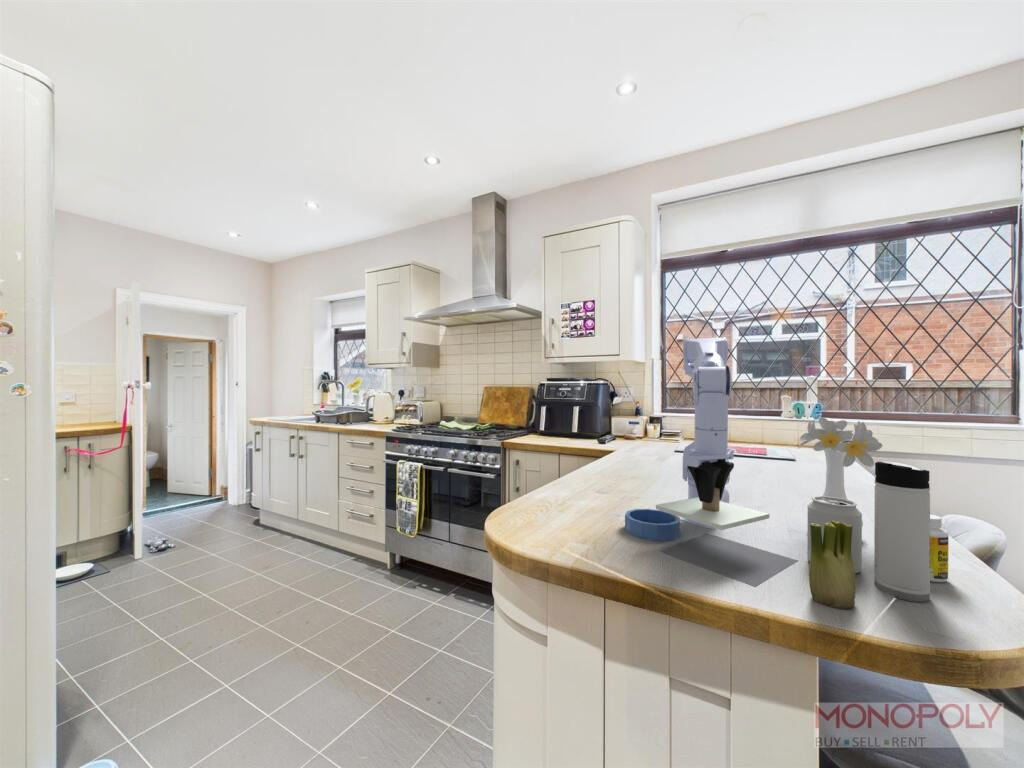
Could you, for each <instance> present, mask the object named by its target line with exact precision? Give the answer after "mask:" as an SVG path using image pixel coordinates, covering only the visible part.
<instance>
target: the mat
mask: <svg viewBox="0 0 1024 768" xmlns="http://www.w3.org/2000/svg"><path fill="white" fill-rule="evenodd" d="M659 553H663V554H665V555H668V556H670V557H673V558H676V559H679V560H681V561H684V562H687V563H690V564H692V565H695V566H697V567H699V568H703V569H705V570H708V571H711V572H714V573H717V574H719V575H722V576H724V577H727V578H730V579H731V580H735V581H739V582H741V583H743V584H745V585H746V584H747V585H748V586H751V587H754V588H756V587H758V586H759V585H761V584H763V583H765V582H766V581H767V580H769V579H771V578H772V577H775V576H777V574H779V573H781V572H782V571H784V570H786V569H787V568H789V567H790V566H792V565H795V564H796V563H798V562H799V559H798V560H797V559H795V558H791V557H788V556H784V555H781V554H778V553H774V552H772V551H768V550H764V549H761V548H758V547H754V546H751V545H748V544H744V543H742V542H741V543H740V542H737V541H734V540H731V539H727V538H724V537H721V536H717V535H715V534H710V533H704V534H701V535H698V536H695V537H694V538H691V539H687V540H686V541H683V542H680V543H677V544H675V545H672V546H669V547H667V548H665V549H664V548H663V549H661V550H659Z"/></svg>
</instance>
